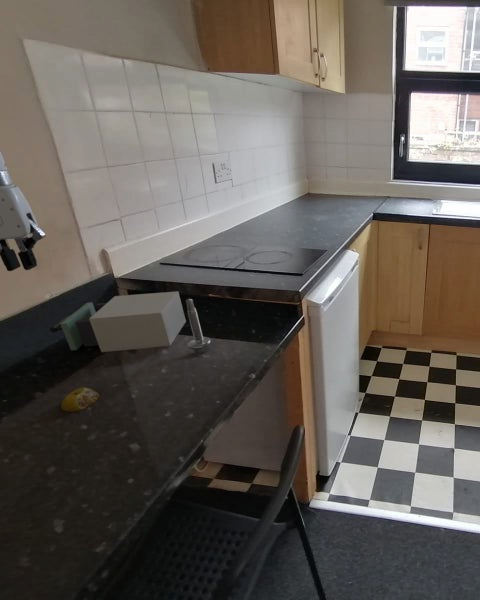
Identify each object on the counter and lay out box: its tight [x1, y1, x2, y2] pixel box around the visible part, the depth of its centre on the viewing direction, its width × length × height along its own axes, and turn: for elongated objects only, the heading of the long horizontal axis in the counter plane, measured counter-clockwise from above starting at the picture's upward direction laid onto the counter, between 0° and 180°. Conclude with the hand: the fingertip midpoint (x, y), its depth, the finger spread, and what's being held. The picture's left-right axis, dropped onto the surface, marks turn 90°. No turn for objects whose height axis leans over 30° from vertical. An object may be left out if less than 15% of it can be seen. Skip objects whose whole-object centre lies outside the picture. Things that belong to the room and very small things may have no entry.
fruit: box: [60, 386, 100, 412], centre depth 73 cm, size 8×8×4 cm
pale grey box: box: [89, 290, 187, 353], centre depth 96 cm, size 15×13×9 cm
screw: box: [185, 298, 212, 354], centre depth 89 cm, size 13×5×5 cm
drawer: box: [49, 301, 108, 351], centre depth 95 cm, size 18×11×7 cm, turn 101°
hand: (22, 267), depth 87 cm, fingers closed
